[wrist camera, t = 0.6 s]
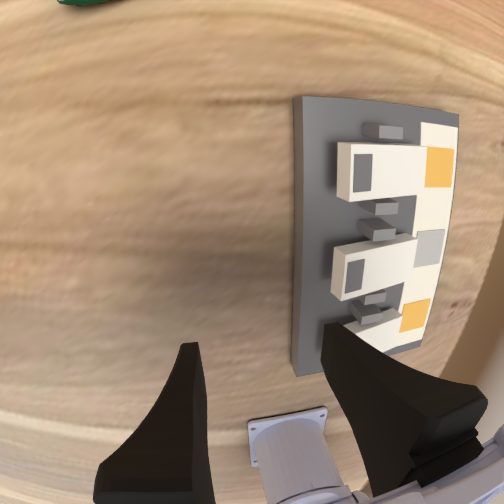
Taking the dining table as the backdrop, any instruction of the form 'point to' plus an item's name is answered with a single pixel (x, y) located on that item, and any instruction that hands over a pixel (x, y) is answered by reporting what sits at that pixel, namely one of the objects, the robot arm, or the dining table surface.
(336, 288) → the block
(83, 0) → the gaming controller
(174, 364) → the robot arm
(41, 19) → the dining table surface
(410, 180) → the block
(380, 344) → the rocker
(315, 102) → the switch unit
